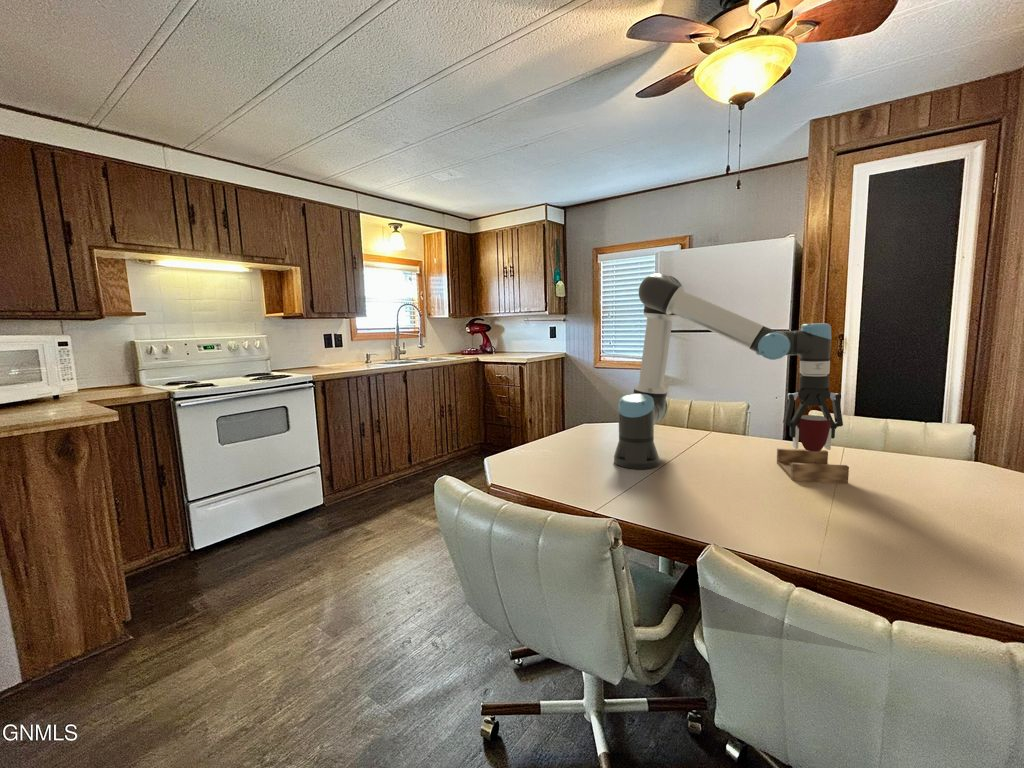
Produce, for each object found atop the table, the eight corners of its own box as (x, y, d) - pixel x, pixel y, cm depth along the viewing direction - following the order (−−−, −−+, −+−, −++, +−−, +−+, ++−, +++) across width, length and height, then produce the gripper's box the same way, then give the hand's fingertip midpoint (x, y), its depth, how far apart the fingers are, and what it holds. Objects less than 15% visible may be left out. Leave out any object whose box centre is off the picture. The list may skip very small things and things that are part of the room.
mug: (791, 443, 141) (792, 413, 140) (820, 444, 139) (822, 413, 137) (801, 452, 131) (802, 420, 130) (833, 454, 129) (834, 421, 127)
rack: (792, 480, 130) (793, 464, 129) (776, 463, 146) (777, 448, 146) (848, 483, 126) (849, 466, 125) (825, 465, 142) (826, 450, 141)
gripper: (778, 376, 132) (776, 450, 135) (860, 375, 125) (856, 452, 128) (772, 373, 139) (770, 443, 142) (849, 372, 133) (845, 446, 135)
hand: (811, 447), depth 135 cm, fingers closed on mug, 8 cm apart
